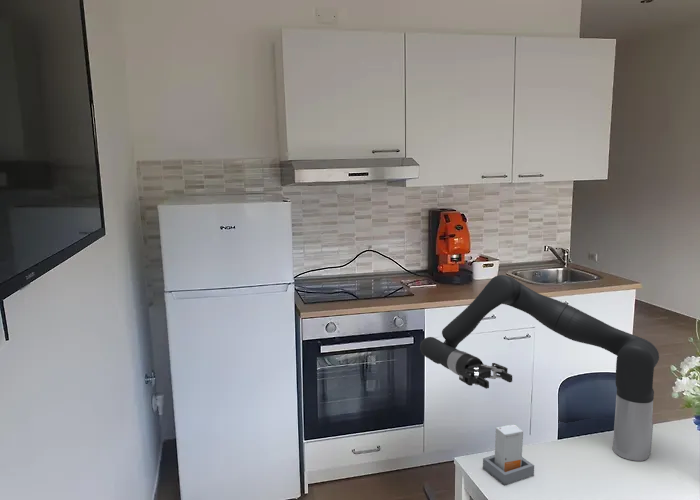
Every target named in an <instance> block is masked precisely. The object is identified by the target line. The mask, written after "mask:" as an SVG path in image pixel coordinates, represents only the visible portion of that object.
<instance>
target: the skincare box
mask: <svg viewBox="0 0 700 500" xmlns="http://www.w3.org/2000/svg"><path fill="white" fill-rule="evenodd" d="M523 441H524V430H522V429H521V428H520V427H518V426H517V425H516V424H507V425H502V426H497V427H495V440H494V455H495V461H494V464H495V465H497V466H498V467H499V468H501V469H502V470H503V471H504V472H507V471H510V470H513V469H516V468H520V467H521V464H522V457H523V444H524V443H523Z"/></svg>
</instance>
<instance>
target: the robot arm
mask: <svg viewBox="0 0 700 500" xmlns="http://www.w3.org/2000/svg"><path fill="white" fill-rule="evenodd" d="M500 305H505V306H510V307H511V308H515V309H517V310H519V311H522V312H524V313H526V314H528V315H530V316H531V317H533V318H534V319H535V320H536V321H538V322H539V323H540V324H541V325H543V326H545V327H546V328H547V329H549V330H551V331H552V332H554V333H556V334H558V335H561V336H562V337H563V338H567V339H569V340H571V341H573V342H576V343H581V344H586V345H591V346H594V347H597V348H601V349H602V350H606V351H607V352H609V353H611V354H613V355H615V356H616V362H615V387H616V393H615V395H616V396H615V411H614V422H613V423H614V425H613V439H612V440H613V441H612V450H613V452H614V453H615V454H616V455H617V456H619V457H620V458H623V459H626V460H629V461H638V462H642V461H646V460H648V459H649V457H650V454H652V446H653V444H652V443H653V442H652V441H653V431H654V423H653V408H654V399H655V398H654V397H655V391H654V388H653V386H654V385H653V384H654V372H655V367H656V366H657V364H658V362H659V360H660V354H659V350H658V348H657V347H656V346H655V345H654V344H653V343H652V342H650V341H649V340H647V339H645V338H643V337H640V336H638V335H634V334H631V333H630V332H626V331H624V330H621V329H618V328H616V327H614V326H612V325H609V324H607V323H606V322H604V321H602V320H600V319H597V318H596V317H594V316H592V315H589V314H588V313H586V312H584V311H582V310H580V309H578V308H576V307H574V306H572V305H570V304H567V303H565V302H563V301H561V300H558V299H555V298H553V297H552V298H551V297H550V296H546V295H543V294H541V293H538V292H536V291H534V290H533V289H531V288H530V287H527V286H526V285H525V284H523V283H521V282H520V281H519V280H517V279H515V278H514V277H511V276H509V275H504V274H498V275H496V276H494V277H492V278H491V279H490V280H489V281H488V283H486V285H485V286H484V288H483V289H482V290H481V291H480V293H478V295H477V296H476V298H475V299H474V300H473V301H472V302H471V303H470V304H468V306H467V307H466V308H464V310H463V311H462V312H460V313H459V314H458V315H457V316H456V317H455V318H453V320H451V321H450V322H449V323H448V324H447V325H446V326H445V327H444V328H442V331H441V335H442V337H443V339H444V341H441V340H440V339H438V338H436V337H433V336H427V337H426V338H424V339H422V340H421V342H420V344H419V350H420V353H421V355H422V356H424V357H426V358H427V359H429V360H430V361H431V362H434V363H435V364H438V365H441V366H442V367H444V368H445V369H447V370H449V371H451V372H452V373H454V374H456V375H457V376H458V379H459V380H460V381H461V382H462V383H464V384H466V385H467V386H469V387H471V386H473V385H475V386H479V387H481V388H484V389H489V388H490V382H489V380H487V379H492V380H496V379H502V380H503V381H505V382H508V383H513V375H512V374H511V373H509V372H508V367H506V366H503V365H502V364H499V363H496V362H492V363H491V365H487V364H484V363H483V361H482V360H481V359H480V358H479V357H478V356H475V355H474V354H470V353H468V352H466V351H462V350H460V349H457V347H458V346H459V344H460V343H461V342H462V341H464V340H465V339H466V338H467V337H468V336H469V335H470V334H471V333H472V332H474V330H475V329H476V328H477V327H478V325H479V324H480V323H481V322H482V320H483V319H484V318H485V317H487V315H488V314H489V313H491V312H492V311H493V310H494V309H496V308H497V307H499V306H500ZM492 373H493V374H492Z"/></svg>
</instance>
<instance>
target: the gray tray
mask: <svg viewBox="0 0 700 500" xmlns="http://www.w3.org/2000/svg"><path fill="white" fill-rule="evenodd" d="M494 461H495V454H492V455H490V456H486V457H483V458H482V469H483V470H484V471H486V472H487V473H488V474H489V475H490V476H492V477H493V478H494V479H496V480H497V481H498V482H499V483H500V484H502V485H503V486H508V485H510V484H513V483H516V482H519V481H522V480H523V481H524V480H526V479H529V478H532V477H534V475H535V465H534V464H533V463H531V462H530V461H529V460H527V459H526V458H524V457H523V456H522V464H521V467H520V468H516V469H513V470H510V471H507V472H504V471H503V470H502V469H501V468H499V467H498V466H497V465H495V464H494Z"/></svg>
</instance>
